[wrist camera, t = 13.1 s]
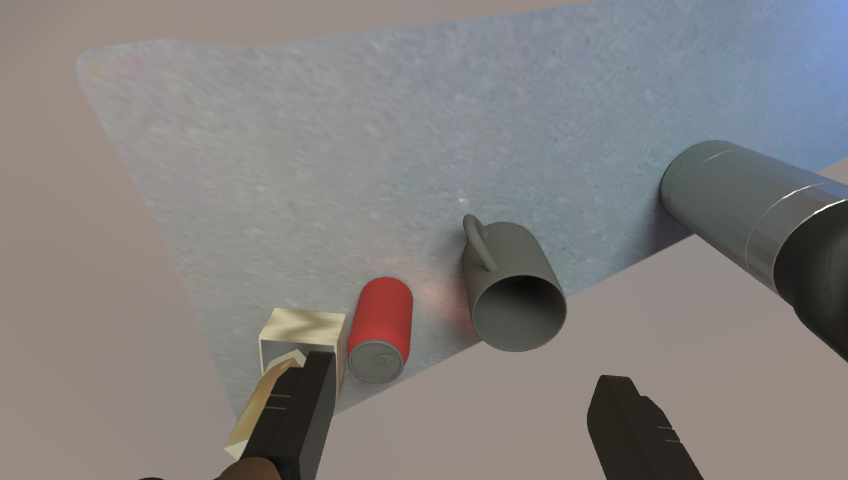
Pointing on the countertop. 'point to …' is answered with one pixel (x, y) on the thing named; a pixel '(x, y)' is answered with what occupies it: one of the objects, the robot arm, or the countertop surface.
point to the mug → (510, 287)
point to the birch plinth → (304, 336)
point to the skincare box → (260, 401)
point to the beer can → (381, 331)
